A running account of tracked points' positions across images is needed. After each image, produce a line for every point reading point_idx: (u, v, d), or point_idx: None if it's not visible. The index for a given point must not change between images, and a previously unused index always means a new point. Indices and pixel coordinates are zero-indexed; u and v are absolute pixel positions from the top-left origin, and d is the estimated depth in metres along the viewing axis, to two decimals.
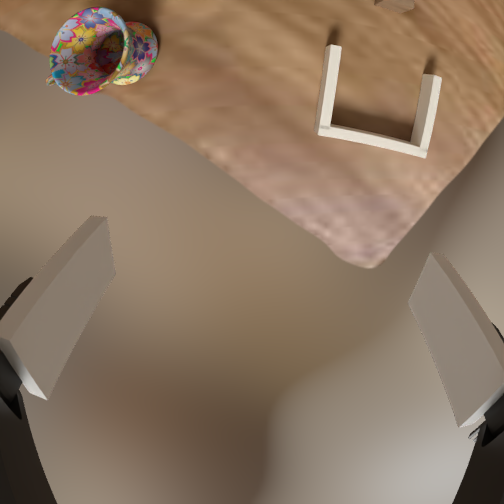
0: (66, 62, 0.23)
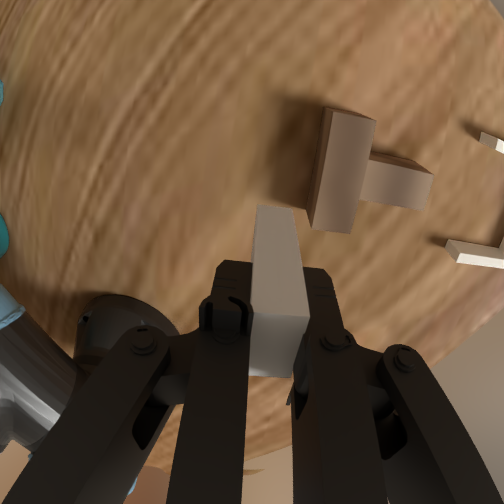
0: None
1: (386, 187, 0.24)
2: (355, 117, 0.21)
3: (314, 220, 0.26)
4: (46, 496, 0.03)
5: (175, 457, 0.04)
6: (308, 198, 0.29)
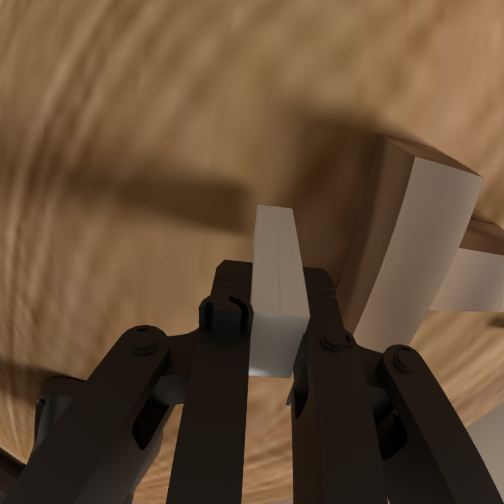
0: None
1: (471, 288, 0.12)
2: (452, 170, 0.09)
3: None
4: (46, 497, 0.03)
5: (175, 457, 0.04)
6: (338, 288, 0.17)
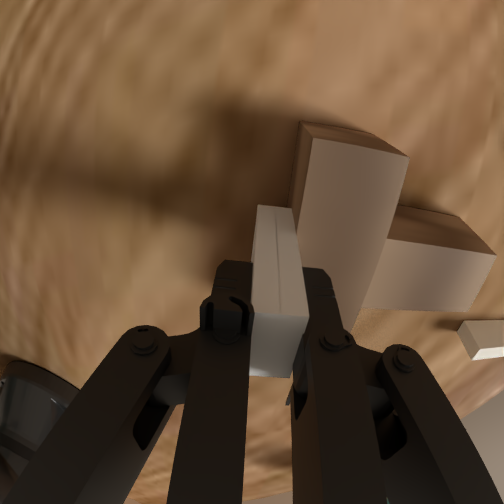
0: None
1: (413, 284, 0.12)
2: (364, 150, 0.09)
3: None
4: (46, 497, 0.03)
5: (176, 457, 0.04)
6: None
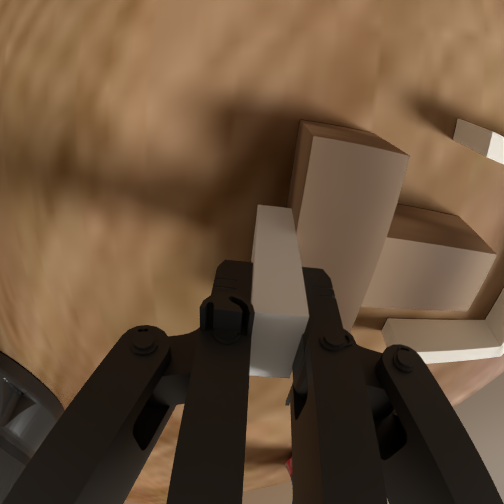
0: None
1: (413, 284, 0.12)
2: (364, 148, 0.09)
3: None
4: (46, 497, 0.03)
5: (176, 457, 0.04)
6: None
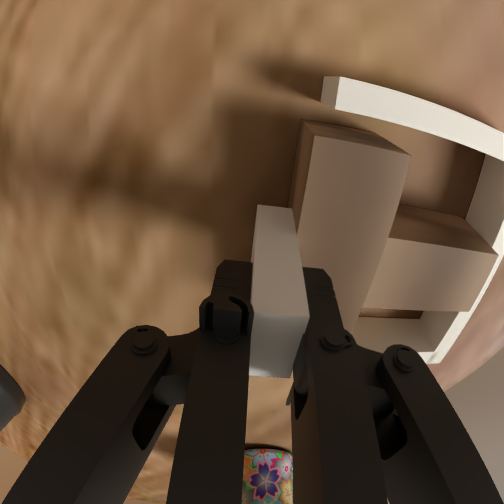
0: None
1: (414, 284, 0.12)
2: (366, 148, 0.09)
3: None
4: (46, 496, 0.03)
5: (175, 457, 0.04)
6: None
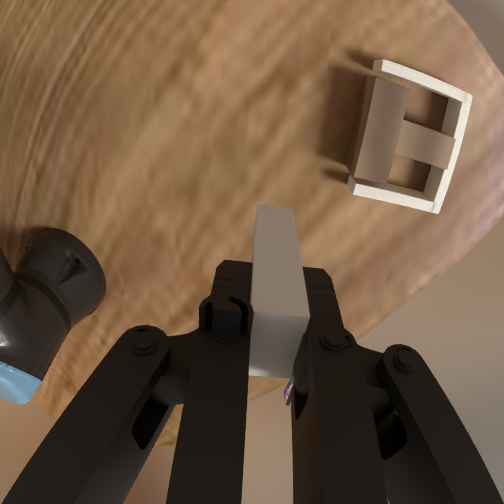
0: None
1: (416, 145, 0.26)
2: (393, 83, 0.23)
3: (356, 169, 0.28)
4: (46, 497, 0.03)
5: (175, 457, 0.04)
6: (348, 154, 0.31)
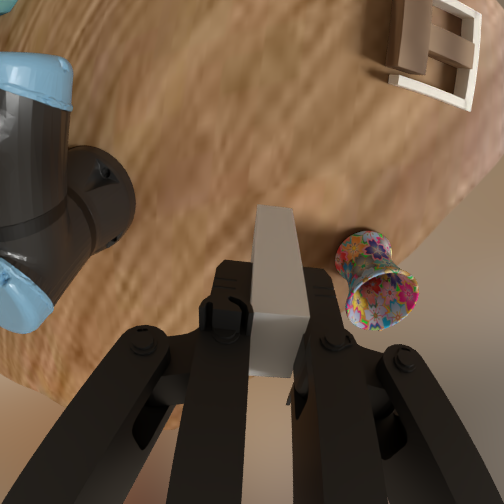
0: (375, 314, 0.37)
1: (445, 45, 0.23)
2: None
3: (399, 59, 0.25)
4: (46, 496, 0.03)
5: (175, 457, 0.04)
6: (386, 56, 0.28)
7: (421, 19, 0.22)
